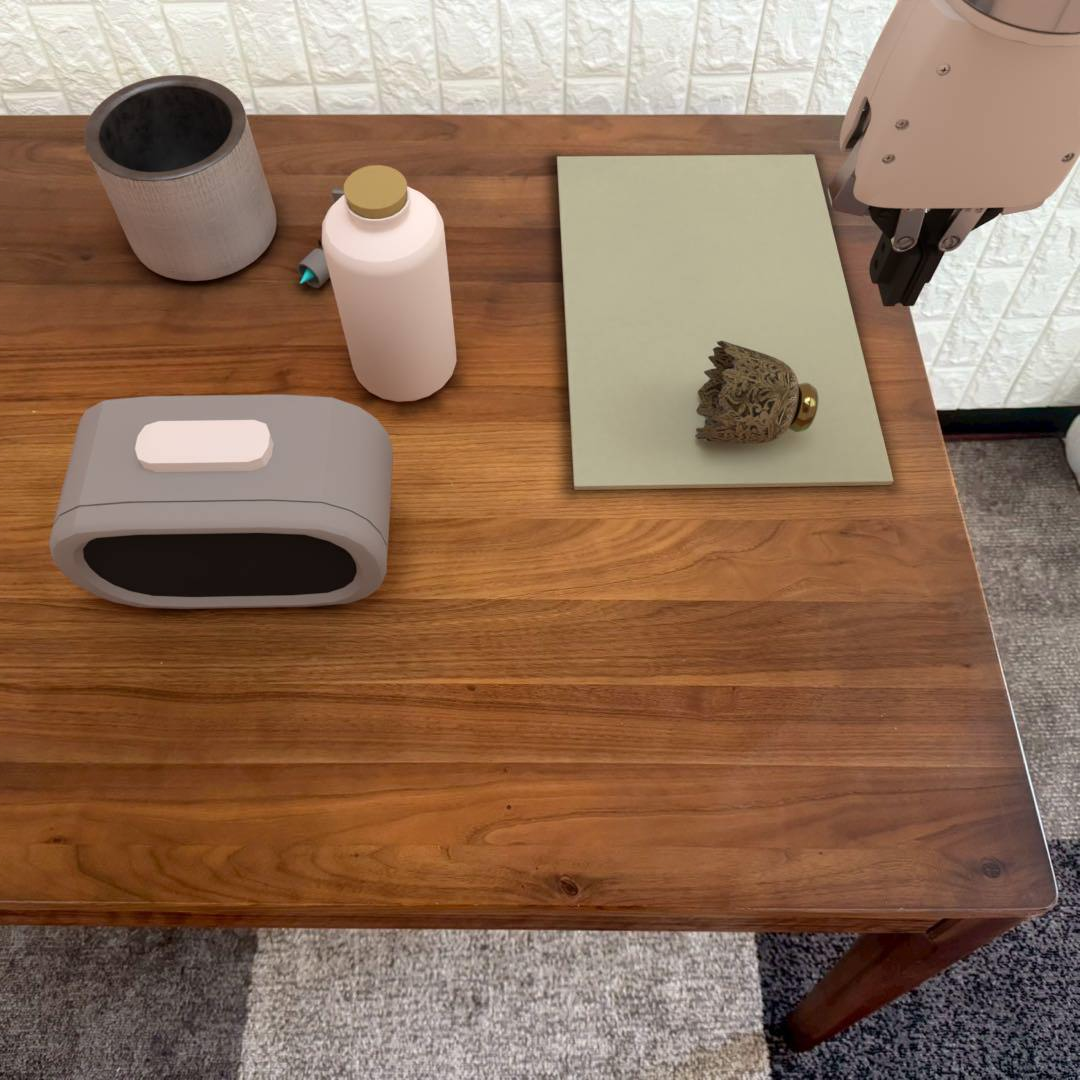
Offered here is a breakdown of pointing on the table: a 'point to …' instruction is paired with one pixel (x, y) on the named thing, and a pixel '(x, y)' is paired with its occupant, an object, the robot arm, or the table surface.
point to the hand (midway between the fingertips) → (892, 287)
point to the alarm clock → (226, 502)
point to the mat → (706, 320)
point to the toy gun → (316, 260)
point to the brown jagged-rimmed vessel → (752, 398)
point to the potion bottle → (391, 284)
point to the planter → (183, 176)
